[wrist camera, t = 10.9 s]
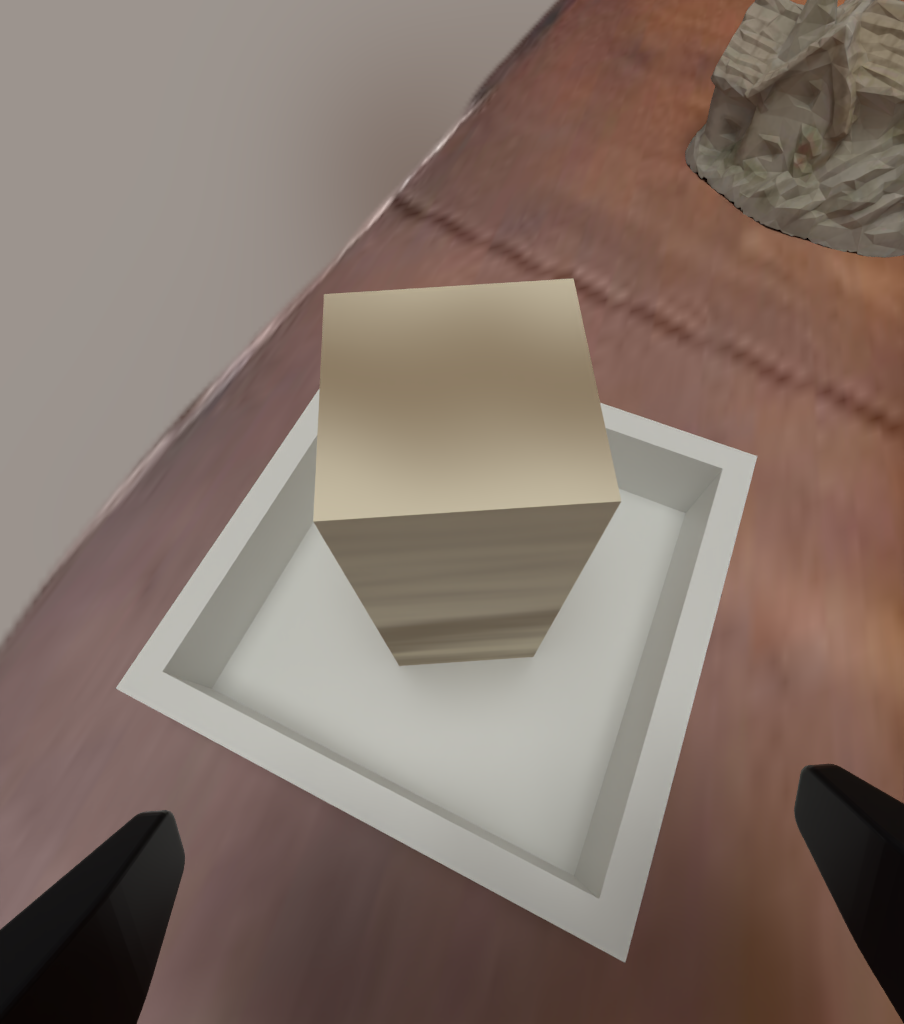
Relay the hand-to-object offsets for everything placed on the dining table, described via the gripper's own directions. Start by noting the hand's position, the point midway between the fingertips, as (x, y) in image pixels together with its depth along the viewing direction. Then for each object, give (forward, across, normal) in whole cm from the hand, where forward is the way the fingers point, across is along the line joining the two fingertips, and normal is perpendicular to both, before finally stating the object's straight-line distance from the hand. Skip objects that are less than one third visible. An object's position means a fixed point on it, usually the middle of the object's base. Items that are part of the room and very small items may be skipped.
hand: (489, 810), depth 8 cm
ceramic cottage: (+32, -25, -14) cm, 43 cm away
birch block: (+13, 0, +4) cm, 14 cm away
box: (+14, 0, +4) cm, 15 cm away
